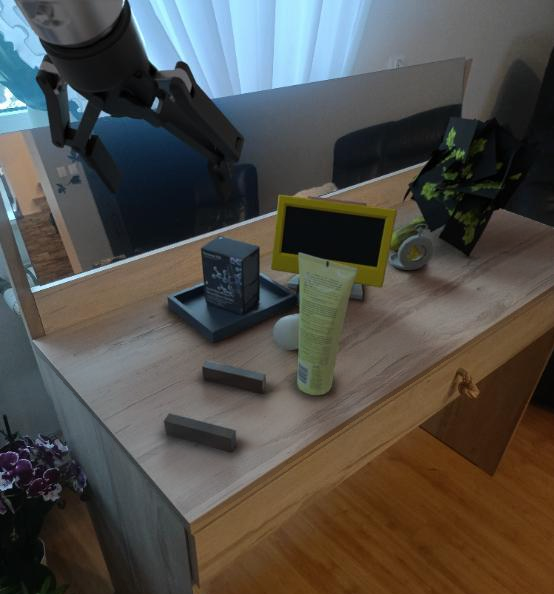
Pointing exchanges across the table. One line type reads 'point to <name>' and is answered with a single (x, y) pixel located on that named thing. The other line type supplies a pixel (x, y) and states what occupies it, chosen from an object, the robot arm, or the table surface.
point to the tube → (321, 320)
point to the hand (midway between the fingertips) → (170, 189)
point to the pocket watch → (413, 252)
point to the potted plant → (467, 181)
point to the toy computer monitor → (333, 237)
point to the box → (231, 274)
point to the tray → (223, 321)
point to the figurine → (287, 332)
